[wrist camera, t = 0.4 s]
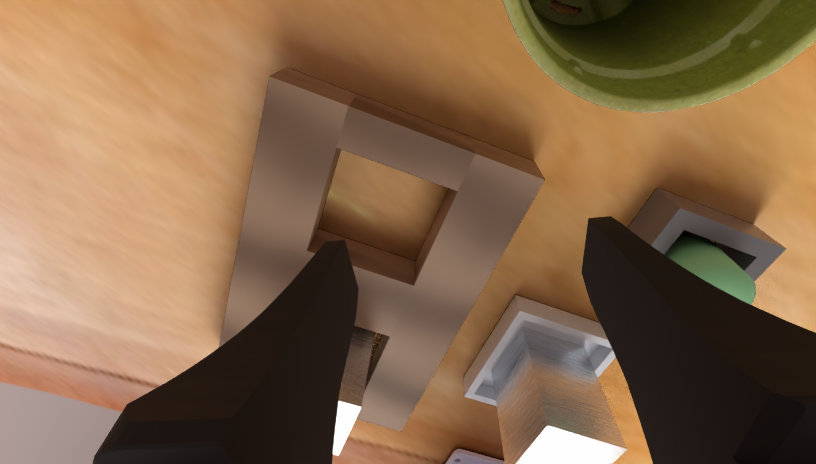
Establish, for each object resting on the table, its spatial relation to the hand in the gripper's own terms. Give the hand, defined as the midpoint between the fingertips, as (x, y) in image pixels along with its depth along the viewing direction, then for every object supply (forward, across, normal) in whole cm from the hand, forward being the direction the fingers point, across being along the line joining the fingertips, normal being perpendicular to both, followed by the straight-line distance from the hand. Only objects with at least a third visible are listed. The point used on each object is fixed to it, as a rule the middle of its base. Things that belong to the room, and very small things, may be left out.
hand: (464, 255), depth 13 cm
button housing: (+9, -12, +8) cm, 17 cm away
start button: (+8, -12, +8) cm, 16 cm away
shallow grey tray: (+8, -4, +16) cm, 18 cm away
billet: (+8, -4, +16) cm, 18 cm away
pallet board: (+9, +6, +8) cm, 14 cm away
